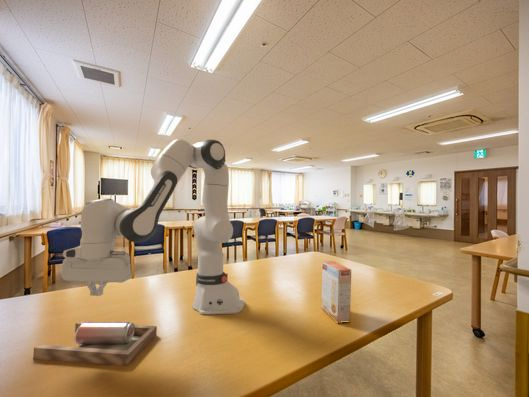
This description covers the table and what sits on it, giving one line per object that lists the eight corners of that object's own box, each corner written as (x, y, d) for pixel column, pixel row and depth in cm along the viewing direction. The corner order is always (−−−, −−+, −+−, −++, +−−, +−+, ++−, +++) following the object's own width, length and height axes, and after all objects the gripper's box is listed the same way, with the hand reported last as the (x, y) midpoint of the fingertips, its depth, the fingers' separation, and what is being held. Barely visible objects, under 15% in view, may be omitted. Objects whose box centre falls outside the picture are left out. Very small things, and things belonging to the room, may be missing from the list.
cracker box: (351, 323, 91) (352, 269, 92) (336, 324, 90) (338, 269, 90) (333, 307, 105) (334, 260, 105) (320, 308, 104) (322, 260, 104)
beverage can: (87, 318, 76) (135, 318, 77) (87, 336, 76) (134, 336, 77) (73, 329, 70) (125, 329, 71) (73, 348, 70) (125, 348, 71)
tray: (156, 335, 79) (156, 326, 79) (127, 365, 64) (128, 354, 64) (78, 330, 81) (79, 321, 81) (33, 358, 66) (33, 347, 66)
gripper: (136, 249, 76) (135, 292, 75) (75, 247, 77) (74, 289, 77) (123, 253, 69) (122, 300, 69) (57, 251, 71) (56, 297, 70)
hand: (96, 295), depth 73 cm, fingers closed
